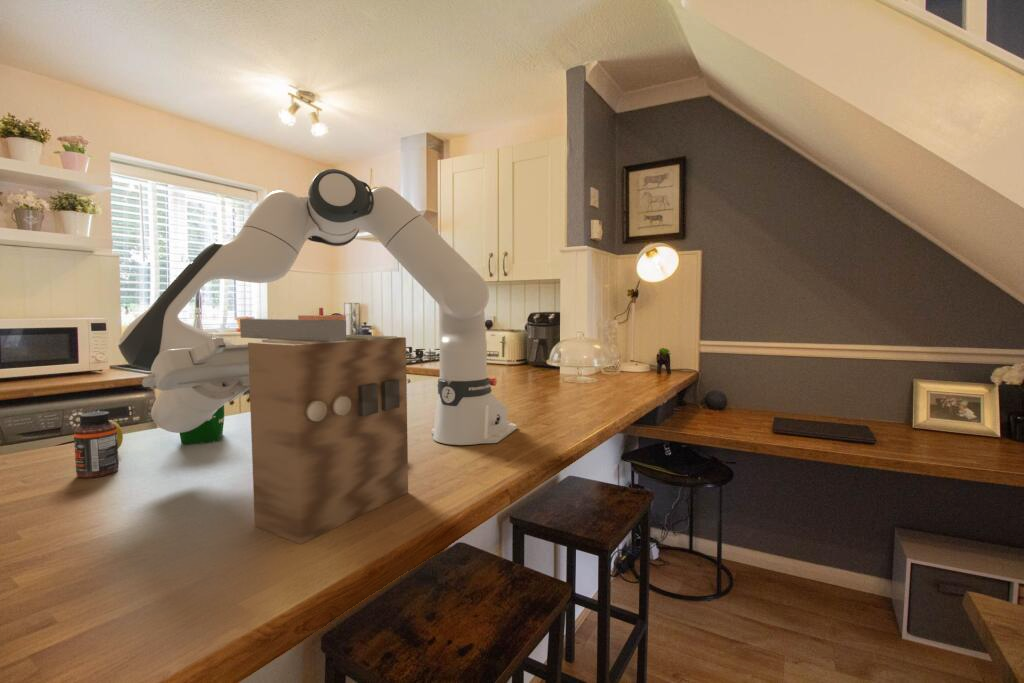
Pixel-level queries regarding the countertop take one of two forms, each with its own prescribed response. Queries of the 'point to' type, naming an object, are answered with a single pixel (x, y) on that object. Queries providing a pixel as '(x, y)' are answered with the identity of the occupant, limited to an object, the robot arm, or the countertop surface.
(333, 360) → the panel block
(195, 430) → the milk carton
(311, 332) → the paddle lever
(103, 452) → the supplement bottle
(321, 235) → the robot arm
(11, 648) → the countertop surface
